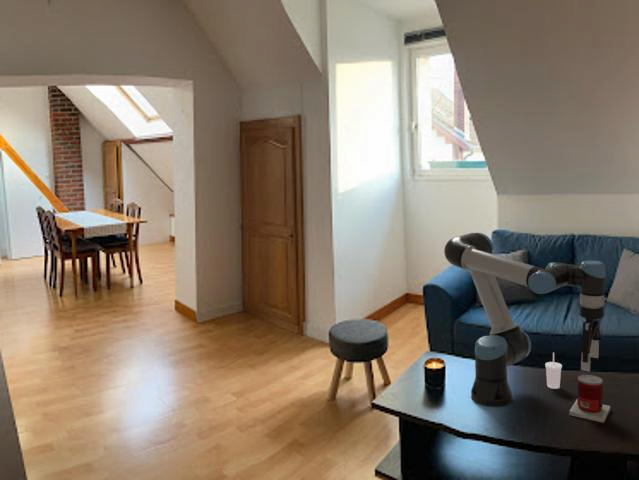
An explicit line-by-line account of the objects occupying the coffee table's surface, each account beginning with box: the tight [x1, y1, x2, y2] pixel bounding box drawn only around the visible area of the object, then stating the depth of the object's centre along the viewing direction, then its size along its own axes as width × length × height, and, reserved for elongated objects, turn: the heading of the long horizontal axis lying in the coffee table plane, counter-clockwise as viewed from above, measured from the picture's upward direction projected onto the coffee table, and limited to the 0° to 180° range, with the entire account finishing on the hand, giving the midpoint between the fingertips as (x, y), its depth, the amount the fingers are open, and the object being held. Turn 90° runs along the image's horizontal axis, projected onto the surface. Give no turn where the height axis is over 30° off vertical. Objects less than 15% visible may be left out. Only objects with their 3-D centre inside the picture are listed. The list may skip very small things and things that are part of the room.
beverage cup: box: [544, 352, 563, 390], centre depth 215 cm, size 6×6×14 cm
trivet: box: [569, 398, 611, 424], centre depth 194 cm, size 11×11×2 cm
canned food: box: [577, 374, 604, 413], centre depth 193 cm, size 8×8×11 cm
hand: (589, 363), depth 191 cm, fingers open, 13 cm apart
